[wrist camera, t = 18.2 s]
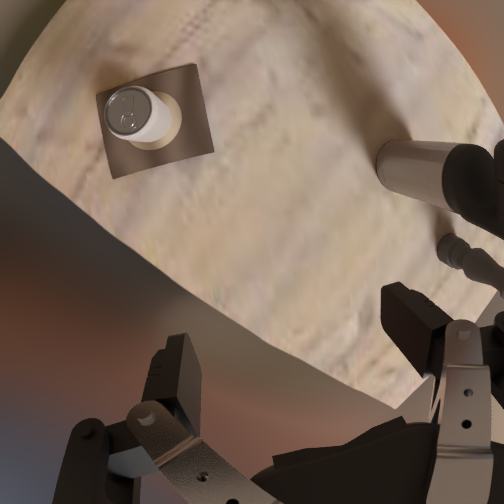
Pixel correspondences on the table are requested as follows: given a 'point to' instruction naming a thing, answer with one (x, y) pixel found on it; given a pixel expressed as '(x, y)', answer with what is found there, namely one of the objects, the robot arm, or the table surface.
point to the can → (137, 115)
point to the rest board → (179, 134)
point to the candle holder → (471, 261)
